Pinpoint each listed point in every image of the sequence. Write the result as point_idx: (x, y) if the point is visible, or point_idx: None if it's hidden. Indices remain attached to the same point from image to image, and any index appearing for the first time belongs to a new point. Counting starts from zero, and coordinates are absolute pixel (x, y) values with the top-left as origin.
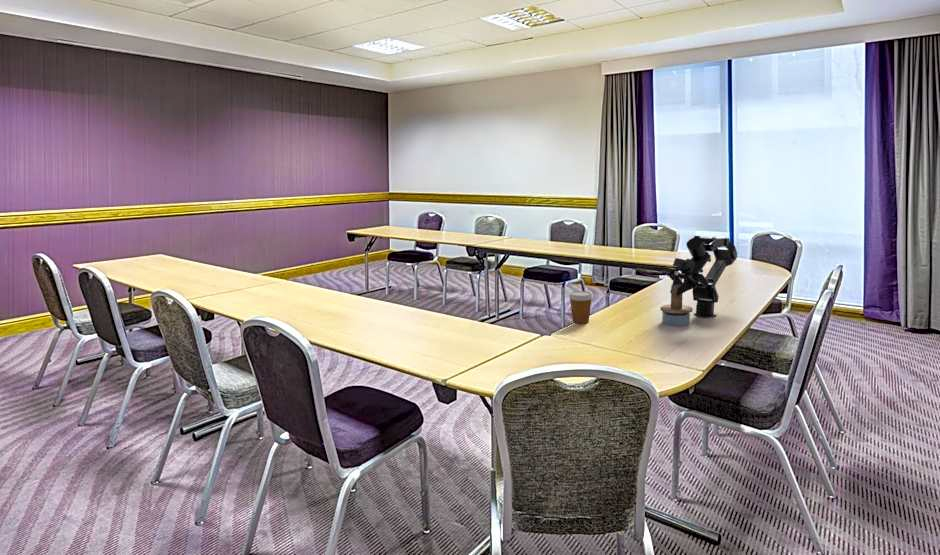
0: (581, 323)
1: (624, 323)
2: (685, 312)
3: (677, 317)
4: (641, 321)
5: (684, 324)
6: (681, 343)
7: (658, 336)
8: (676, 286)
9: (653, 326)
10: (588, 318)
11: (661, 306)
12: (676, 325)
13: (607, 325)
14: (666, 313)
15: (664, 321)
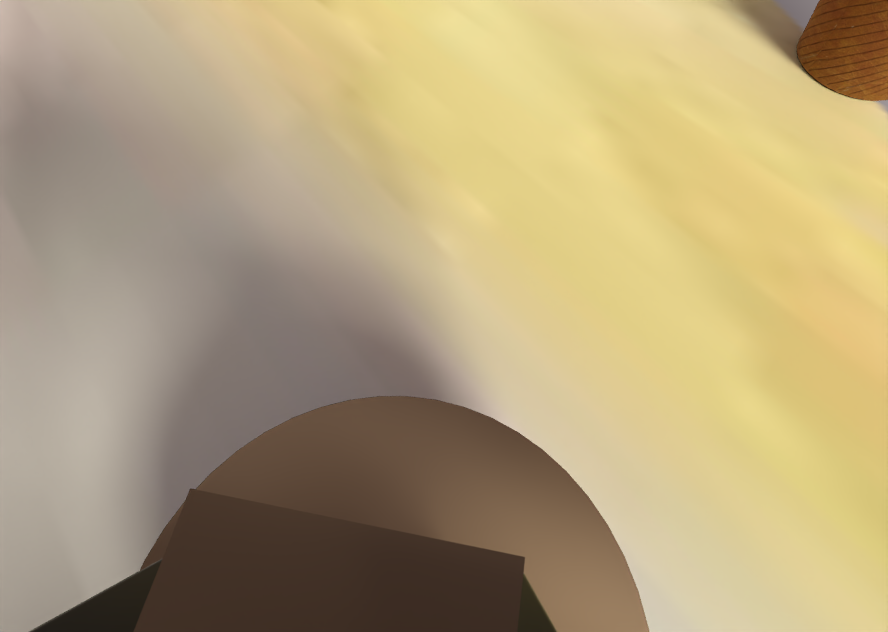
0: (802, 34)
1: (672, 228)
2: (153, 560)
3: None
4: (654, 380)
5: None
6: (22, 125)
7: (240, 144)
8: (206, 494)
9: (451, 323)
10: (828, 45)
11: (617, 550)
12: None
13: (686, 115)
14: None
15: None
